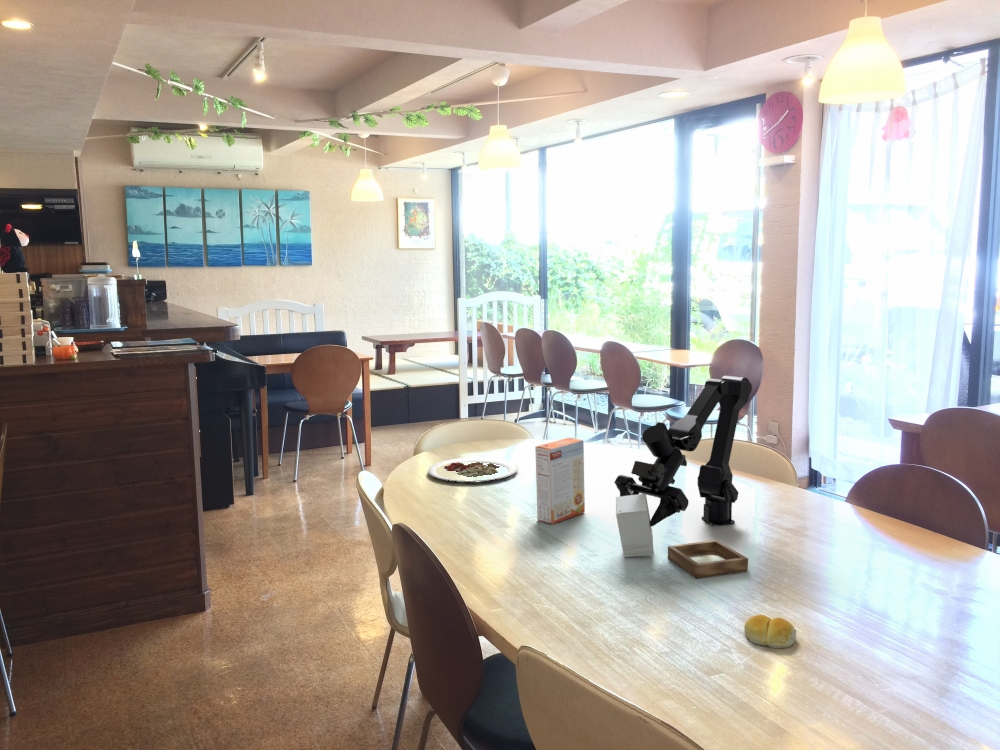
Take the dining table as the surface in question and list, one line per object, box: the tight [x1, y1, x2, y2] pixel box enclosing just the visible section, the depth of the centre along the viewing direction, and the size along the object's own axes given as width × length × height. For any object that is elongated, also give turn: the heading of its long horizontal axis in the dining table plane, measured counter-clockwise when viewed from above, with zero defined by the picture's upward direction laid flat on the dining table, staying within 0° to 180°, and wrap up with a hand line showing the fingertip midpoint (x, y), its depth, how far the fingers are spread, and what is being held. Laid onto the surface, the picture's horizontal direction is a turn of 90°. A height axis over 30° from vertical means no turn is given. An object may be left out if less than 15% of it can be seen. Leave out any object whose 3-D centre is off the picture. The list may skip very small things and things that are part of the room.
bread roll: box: [743, 614, 797, 649], centre depth 148 cm, size 8×9×4 cm
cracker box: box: [534, 437, 586, 525], centre depth 219 cm, size 14×6×21 cm, turn 135°
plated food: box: [427, 456, 519, 483], centre depth 267 cm, size 30×30×3 cm
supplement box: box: [615, 493, 655, 558], centre depth 189 cm, size 7×7×13 cm
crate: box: [667, 539, 749, 579], centre depth 184 cm, size 13×13×3 cm
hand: (634, 520), depth 189 cm, fingers closed on supplement box, 9 cm apart
